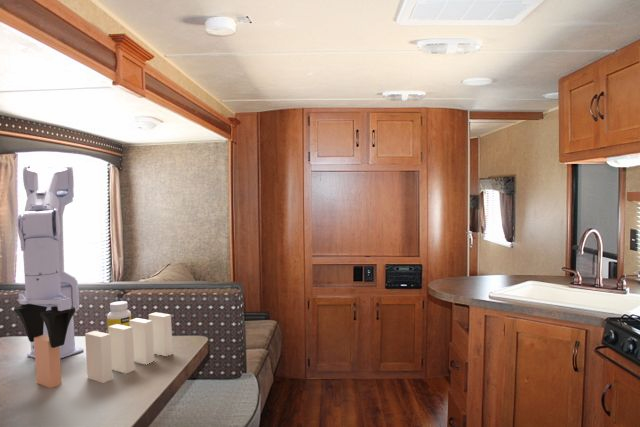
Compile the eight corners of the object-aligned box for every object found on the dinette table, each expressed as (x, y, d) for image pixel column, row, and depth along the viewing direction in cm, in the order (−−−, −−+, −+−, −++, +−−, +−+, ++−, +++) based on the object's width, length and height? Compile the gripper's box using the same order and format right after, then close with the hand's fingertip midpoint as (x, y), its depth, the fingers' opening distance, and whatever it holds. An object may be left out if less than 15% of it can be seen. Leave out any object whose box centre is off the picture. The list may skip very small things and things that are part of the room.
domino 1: (103, 383, 86) (100, 337, 86) (87, 378, 89) (85, 333, 88) (112, 379, 88) (110, 334, 87) (97, 374, 90) (94, 330, 90)
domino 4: (165, 357, 99) (163, 317, 99) (150, 353, 102) (148, 314, 101) (172, 354, 101) (170, 314, 100) (157, 350, 103) (155, 312, 103)
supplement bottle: (123, 346, 107) (121, 305, 106) (103, 345, 108) (101, 305, 108) (136, 339, 112) (135, 300, 112) (117, 338, 113) (115, 299, 113)
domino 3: (146, 364, 95) (144, 323, 94) (131, 361, 97) (129, 320, 97) (154, 361, 96) (152, 320, 96) (139, 357, 99) (137, 317, 99)
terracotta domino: (51, 388, 85) (48, 341, 84) (36, 383, 87) (33, 337, 87) (61, 384, 86) (58, 338, 86) (47, 379, 89) (44, 334, 88)
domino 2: (125, 373, 90) (123, 329, 90) (110, 369, 93) (108, 326, 93) (134, 370, 92) (132, 327, 92) (119, 365, 95) (116, 323, 94)
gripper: (-1, 274, 86) (4, 344, 86) (41, 279, 78) (45, 355, 79) (38, 268, 92) (42, 333, 93) (80, 272, 85) (84, 343, 85)
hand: (46, 343), depth 86 cm, fingers open, 7 cm apart
